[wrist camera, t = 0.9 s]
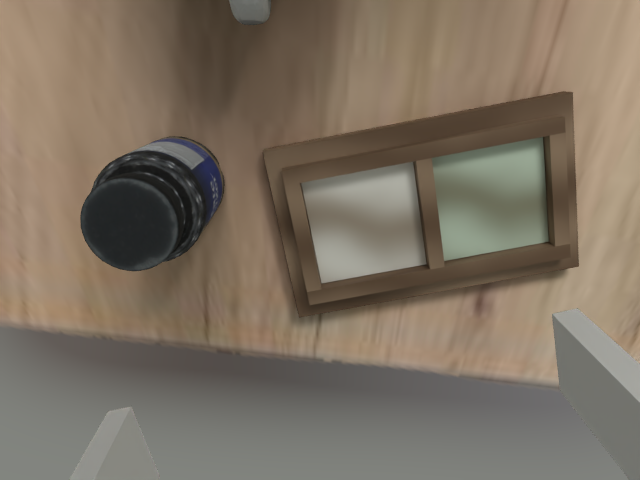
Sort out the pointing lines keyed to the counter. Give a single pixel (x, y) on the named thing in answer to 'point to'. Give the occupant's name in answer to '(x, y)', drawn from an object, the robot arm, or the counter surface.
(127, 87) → the counter surface
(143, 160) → the pill bottle
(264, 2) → the coffee mug
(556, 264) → the divided wooden tray
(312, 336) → the counter surface
